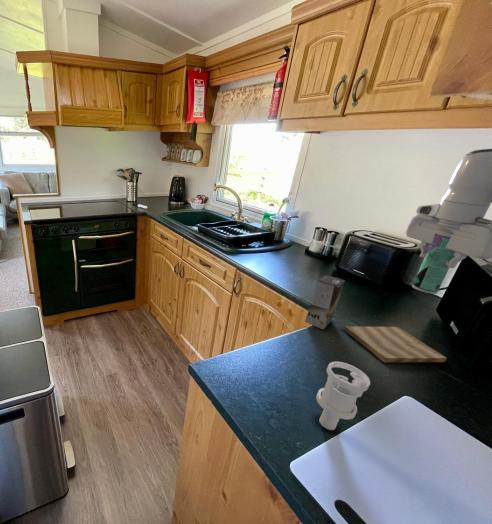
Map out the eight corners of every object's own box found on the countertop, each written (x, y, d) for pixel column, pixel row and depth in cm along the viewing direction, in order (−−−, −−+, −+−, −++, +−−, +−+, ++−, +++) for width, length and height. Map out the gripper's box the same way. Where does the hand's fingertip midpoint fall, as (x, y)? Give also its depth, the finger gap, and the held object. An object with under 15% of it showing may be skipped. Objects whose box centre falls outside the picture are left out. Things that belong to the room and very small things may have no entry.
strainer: (323, 439, 59) (347, 383, 53) (302, 410, 65) (322, 357, 60) (354, 438, 60) (382, 382, 54) (330, 409, 66) (352, 356, 61)
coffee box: (324, 330, 97) (339, 287, 91) (303, 322, 101) (317, 280, 95) (331, 321, 103) (346, 280, 97) (312, 313, 107) (325, 274, 101)
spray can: (436, 289, 84) (468, 222, 77) (438, 295, 80) (471, 226, 73) (411, 283, 88) (440, 219, 80) (412, 289, 84) (442, 221, 76)
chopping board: (396, 330, 100) (397, 326, 100) (444, 362, 86) (447, 358, 85) (343, 329, 98) (345, 326, 98) (384, 362, 83) (386, 358, 83)
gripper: (520, 224, 67) (490, 278, 72) (431, 206, 85) (411, 250, 91) (497, 222, 66) (468, 277, 71) (412, 205, 85) (393, 250, 90)
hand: (435, 262), depth 81 cm, fingers closed on spray can, 5 cm apart
